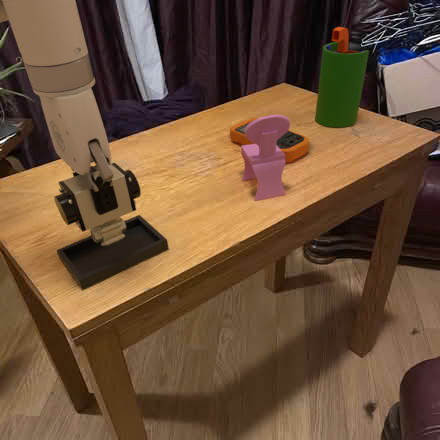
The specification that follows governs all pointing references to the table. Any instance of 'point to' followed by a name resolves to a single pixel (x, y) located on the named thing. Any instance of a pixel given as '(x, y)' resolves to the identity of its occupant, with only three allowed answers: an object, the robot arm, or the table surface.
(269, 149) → the toy chair
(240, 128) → the multimeter
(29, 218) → the table surface
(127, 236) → the black tray
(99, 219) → the pneumatic valve
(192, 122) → the table surface
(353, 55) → the green cylindrical container
